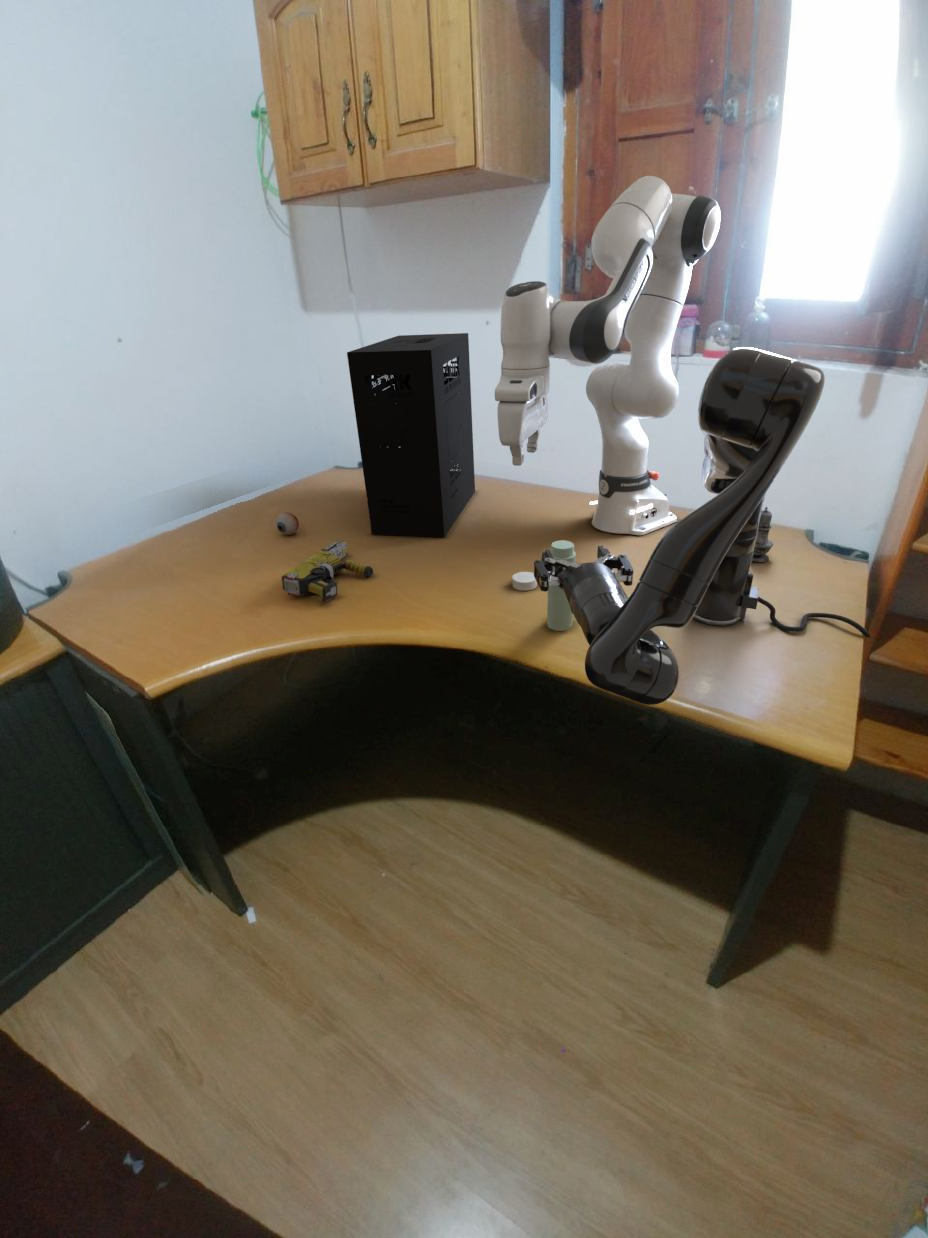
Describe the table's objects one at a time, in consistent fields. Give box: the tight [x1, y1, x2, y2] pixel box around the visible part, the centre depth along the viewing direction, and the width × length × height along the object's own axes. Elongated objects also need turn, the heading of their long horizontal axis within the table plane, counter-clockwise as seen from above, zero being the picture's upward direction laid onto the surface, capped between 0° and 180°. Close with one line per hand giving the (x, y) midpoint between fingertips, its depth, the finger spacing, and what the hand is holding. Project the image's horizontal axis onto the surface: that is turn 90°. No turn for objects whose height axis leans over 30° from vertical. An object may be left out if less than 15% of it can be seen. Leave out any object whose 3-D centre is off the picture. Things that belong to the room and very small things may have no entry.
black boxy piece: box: [346, 332, 476, 538], centre depth 164 cm, size 38×20×45 cm, turn 167°
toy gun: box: [281, 539, 374, 603], centre depth 138 cm, size 5×24×15 cm
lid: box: [511, 571, 538, 592], centre depth 131 cm, size 5×5×2 cm
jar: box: [546, 540, 577, 632], centre depth 112 cm, size 5×5×17 cm
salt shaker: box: [752, 506, 774, 563], centre depth 134 cm, size 6×6×12 cm
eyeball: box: [275, 511, 300, 536], centre depth 163 cm, size 6×6×6 cm
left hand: (525, 457), depth 118 cm, fingers open, 8 cm apart
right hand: (573, 552), depth 97 cm, fingers open, 8 cm apart
